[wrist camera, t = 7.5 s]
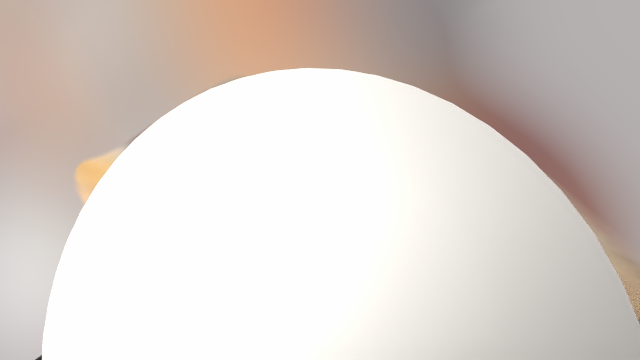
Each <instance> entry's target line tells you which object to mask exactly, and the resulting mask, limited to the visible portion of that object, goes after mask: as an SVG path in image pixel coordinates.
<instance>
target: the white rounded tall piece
mask: <svg viewBox="0 0 640 360" xmlns="http://www.w3.org/2000/svg"><path fill="white" fill-rule="evenodd" d="M42 360H640V323H639V321H638V319H637V316H636V314H635V311H634V309H633V307H632V304H631V302H630V299H629V297H628V295H627V292H626V290H625V287H624V285H623V283H622V281H621V279H620V277H619V275H618V274H617V272H616V270H615V269H614V267H613V265H612V263H611V262H610V260H609V258H608V256H607V255H606V253H605V251H604V250H603V248H602V246H601V244H600V243H599V241H598V239H597V237H596V236H595V234H594V232H593V231H592V230H591V229H590V227H589V226H588V225H587V223H586V222H585V221H584V219H583V218H582V217H581V215H580V214H579V213H578V211H577V210H576V209H575V208H574V206H573V205H572V204H571V202H570V201H569V200H568V198H567V197H566V196H565V194H564V193H563V192H562V191H561V190H560V189H559V188H558V187H557V186H556V185H555V184H554V183H553V182H552V181H551V179H550V178H549V177H548V176H547V175H546V174H545V173H544V172H543V171H542V170H541V169H540V168H539V167H538V166H537V165H536V164H535V163H534V162H533V161H532V160H531V159H530V158H529V157H528V156H527V155H526V154H524V153H523V152H522V151H521V150H519V149H518V148H517V147H516V146H514V145H513V144H512V143H510V142H509V141H508V140H507V139H505V138H504V137H503V136H502V135H500V134H499V133H498V132H497V131H495V130H494V129H493V128H491V127H490V126H489V125H487V124H485V123H484V122H482V121H480V120H479V119H477V118H475V117H474V116H472V115H470V114H469V113H467V112H465V111H464V110H462V109H461V108H459V107H457V106H456V105H454V104H452V103H450V102H448V101H445V100H443V99H441V98H439V97H437V96H434V95H432V94H430V93H428V92H425V91H423V90H421V89H418V88H416V87H414V86H410V85H407V84H404V83H401V82H397V81H393V80H391V79H387V78H384V77H381V76H377V75H371V74H365V73H359V72H353V71H347V70H341V69H316V68H315V69H314V68H303V69H292V70H280V71H271V72H267V73H262V74H258V75H253V76H249V77H244V78H240V79H237V80H234V81H232V82H229V83H226V84H223V85H220V86H218V87H215V88H212V89H210V90H208V91H206V92H204V93H202V94H200V95H198V96H196V97H194V98H192V99H190V100H188V101H186V102H184V103H183V104H181V105H180V106H178V107H177V108H175V109H174V110H172V111H171V112H169V113H168V114H166V115H165V116H163V117H162V118H160V119H159V120H157V121H156V122H155V123H154V124H153V125H151V126H150V127H149V128H148V129H147V130H146V131H144V132H143V133H142V134H141V135H140V136H139V137H137V138H136V139H135V140H134V141H133V142H132V143H131V144H130V145H129V147H128V148H127V149H126V150H125V151H124V152H123V153H122V154H121V155H120V156H119V157H118V158H117V159H116V160H115V162H114V163H113V164H112V166H111V167H110V168H109V170H108V171H107V172H106V174H105V175H104V176H103V178H102V179H101V180H100V181H99V183H98V184H97V186H96V187H95V189H94V191H93V192H92V194H91V196H90V197H89V199H88V200H87V202H86V204H85V205H84V207H83V209H82V210H81V212H80V214H79V217H78V219H77V221H76V223H75V225H74V227H73V229H72V231H71V234H70V236H69V238H68V240H67V243H66V245H65V248H64V251H63V254H62V257H61V260H60V262H59V265H58V268H57V271H56V275H55V279H54V283H53V287H52V291H51V295H50V299H49V303H48V309H47V316H46V323H45V329H44V335H43V349H42Z"/></svg>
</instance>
